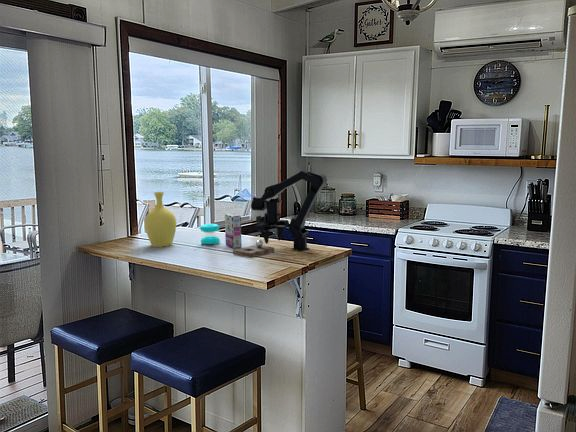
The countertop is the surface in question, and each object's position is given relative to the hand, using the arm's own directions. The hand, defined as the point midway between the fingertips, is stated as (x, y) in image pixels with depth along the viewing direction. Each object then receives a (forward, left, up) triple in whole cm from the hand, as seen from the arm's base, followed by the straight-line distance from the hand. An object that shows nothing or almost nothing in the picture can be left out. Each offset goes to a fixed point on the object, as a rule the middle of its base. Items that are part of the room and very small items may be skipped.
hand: (273, 241), depth 250 cm
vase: (+29, -53, -3) cm, 61 cm away
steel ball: (+10, 0, +1) cm, 10 cm away
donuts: (+11, -35, -3) cm, 37 cm away
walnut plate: (+14, 0, -3) cm, 14 cm away
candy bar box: (+9, -19, -3) cm, 22 cm away
